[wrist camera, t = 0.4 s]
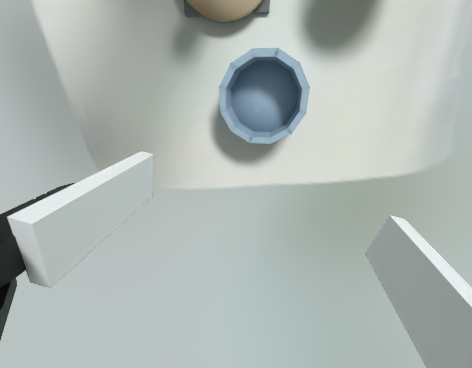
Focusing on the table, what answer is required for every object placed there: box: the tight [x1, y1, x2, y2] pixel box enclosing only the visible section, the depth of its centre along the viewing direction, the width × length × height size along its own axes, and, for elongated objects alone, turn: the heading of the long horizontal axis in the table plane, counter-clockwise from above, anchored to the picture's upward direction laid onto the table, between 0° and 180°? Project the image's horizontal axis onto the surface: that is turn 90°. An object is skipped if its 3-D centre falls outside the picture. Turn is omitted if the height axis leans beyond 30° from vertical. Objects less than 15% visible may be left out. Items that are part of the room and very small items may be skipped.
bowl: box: [219, 48, 310, 144], centre depth 31 cm, size 12×12×6 cm
